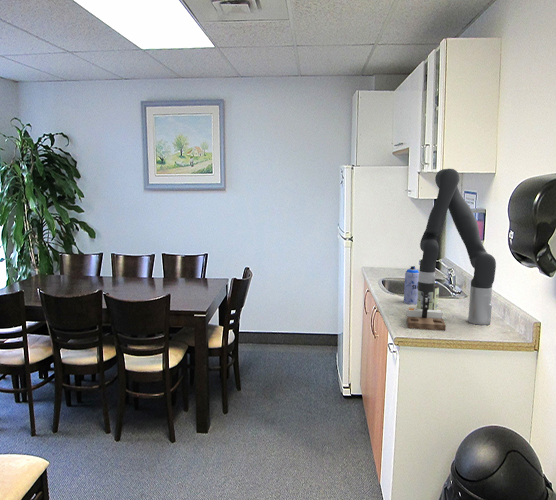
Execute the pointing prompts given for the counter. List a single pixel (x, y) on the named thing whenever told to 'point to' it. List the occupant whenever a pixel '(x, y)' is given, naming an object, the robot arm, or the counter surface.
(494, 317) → the counter surface
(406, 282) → the aerosol can
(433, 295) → the coffee can
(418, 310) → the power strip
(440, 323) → the mounting board
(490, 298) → the robot arm
